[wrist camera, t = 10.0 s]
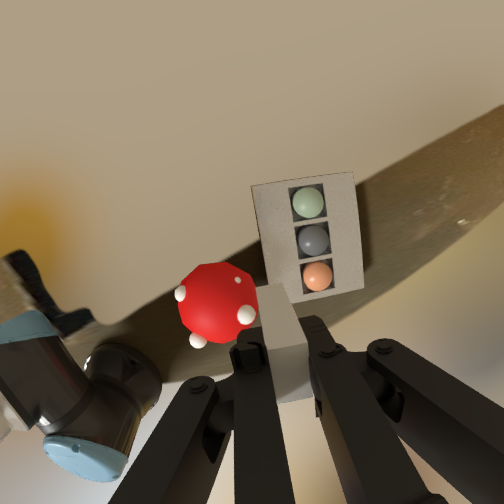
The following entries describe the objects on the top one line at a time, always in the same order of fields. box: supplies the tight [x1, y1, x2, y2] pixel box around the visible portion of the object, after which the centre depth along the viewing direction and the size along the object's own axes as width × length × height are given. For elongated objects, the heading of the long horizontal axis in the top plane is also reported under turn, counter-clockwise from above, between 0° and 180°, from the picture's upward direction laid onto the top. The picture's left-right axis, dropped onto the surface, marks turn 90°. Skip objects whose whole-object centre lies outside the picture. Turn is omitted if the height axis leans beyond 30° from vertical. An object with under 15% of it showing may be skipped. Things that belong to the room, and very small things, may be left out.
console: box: [251, 172, 364, 304], centre depth 41 cm, size 14×17×4 cm
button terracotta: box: [302, 260, 332, 291], centre depth 41 cm, size 4×4×2 cm
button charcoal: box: [297, 224, 329, 256], centre depth 40 cm, size 4×4×2 cm
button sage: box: [291, 187, 324, 218], centre depth 39 cm, size 4×4×2 cm
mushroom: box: [175, 262, 259, 348], centre depth 38 cm, size 11×11×12 cm
